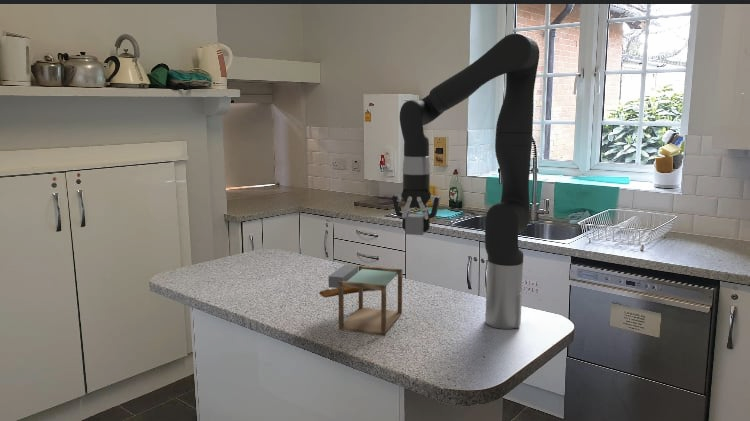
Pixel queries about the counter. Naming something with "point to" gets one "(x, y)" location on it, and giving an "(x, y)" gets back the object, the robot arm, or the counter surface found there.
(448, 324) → the counter surface
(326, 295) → the primitive tool
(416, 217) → the stone
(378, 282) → the trapdoor
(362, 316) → the wooden box frame
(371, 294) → the counter surface
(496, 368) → the counter surface
